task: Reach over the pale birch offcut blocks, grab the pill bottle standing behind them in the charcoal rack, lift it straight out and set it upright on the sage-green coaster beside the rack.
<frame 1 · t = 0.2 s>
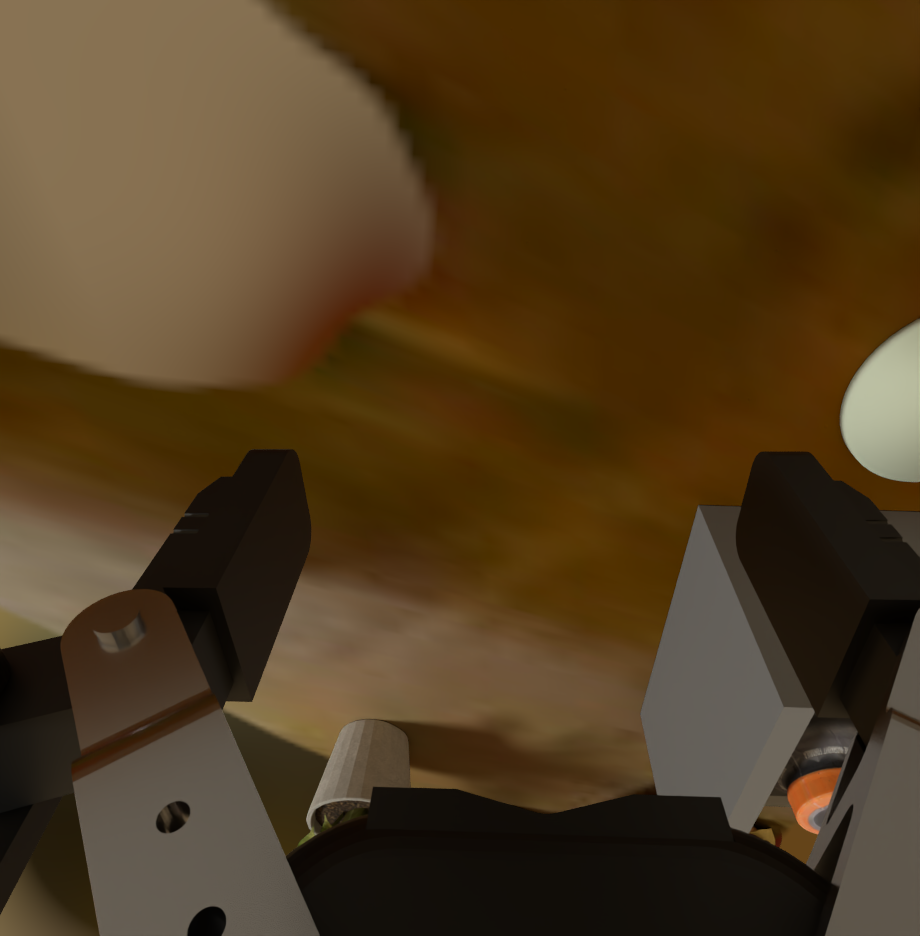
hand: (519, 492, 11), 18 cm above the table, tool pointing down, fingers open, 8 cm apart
house plant: (359, 729, 47), on the table
pill bottle: (759, 624, 38), on the table
rack: (811, 629, 38), on the table
hamburger: (694, 837, 55), on the table
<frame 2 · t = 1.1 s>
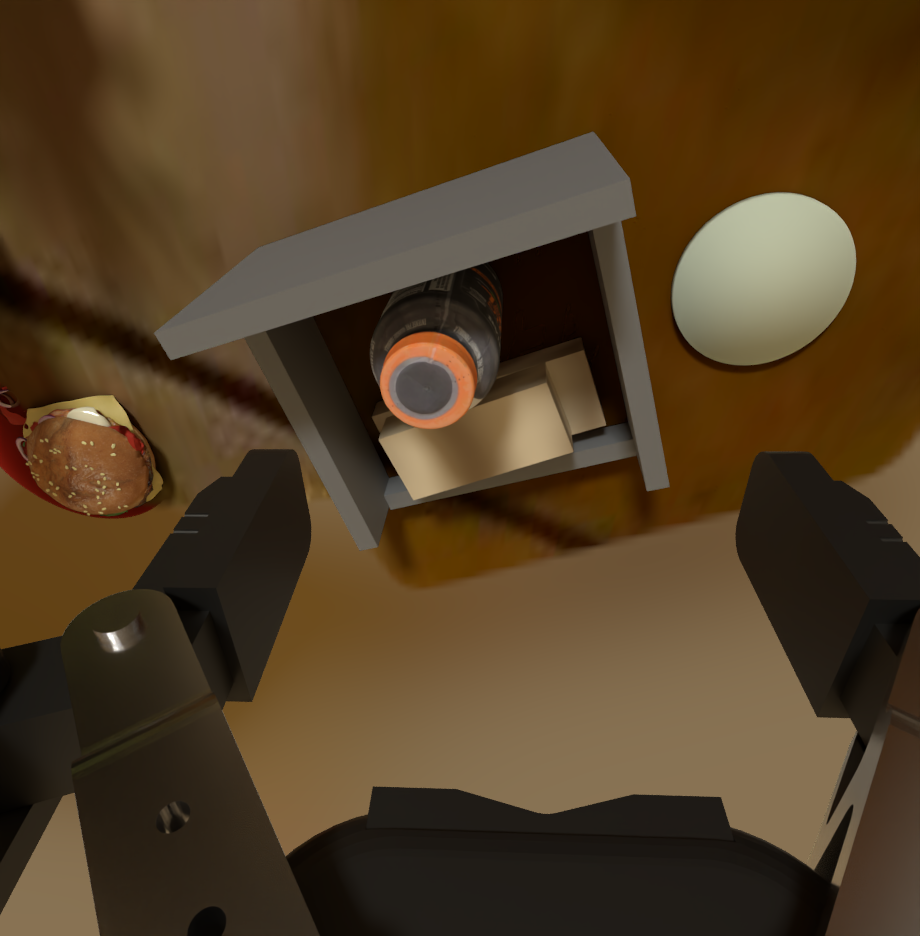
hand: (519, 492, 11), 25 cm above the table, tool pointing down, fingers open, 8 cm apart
offcut upper: (477, 423, 38), point 2 cm above the table, touching offcut lower
pill bottle: (450, 296, 36), on the table
rack: (466, 345, 37), on the table
hamburger: (79, 433, 44), on the table
coaster: (758, 282, 34), on the table
offcut lower: (489, 401, 40), on the table, touching offcut upper
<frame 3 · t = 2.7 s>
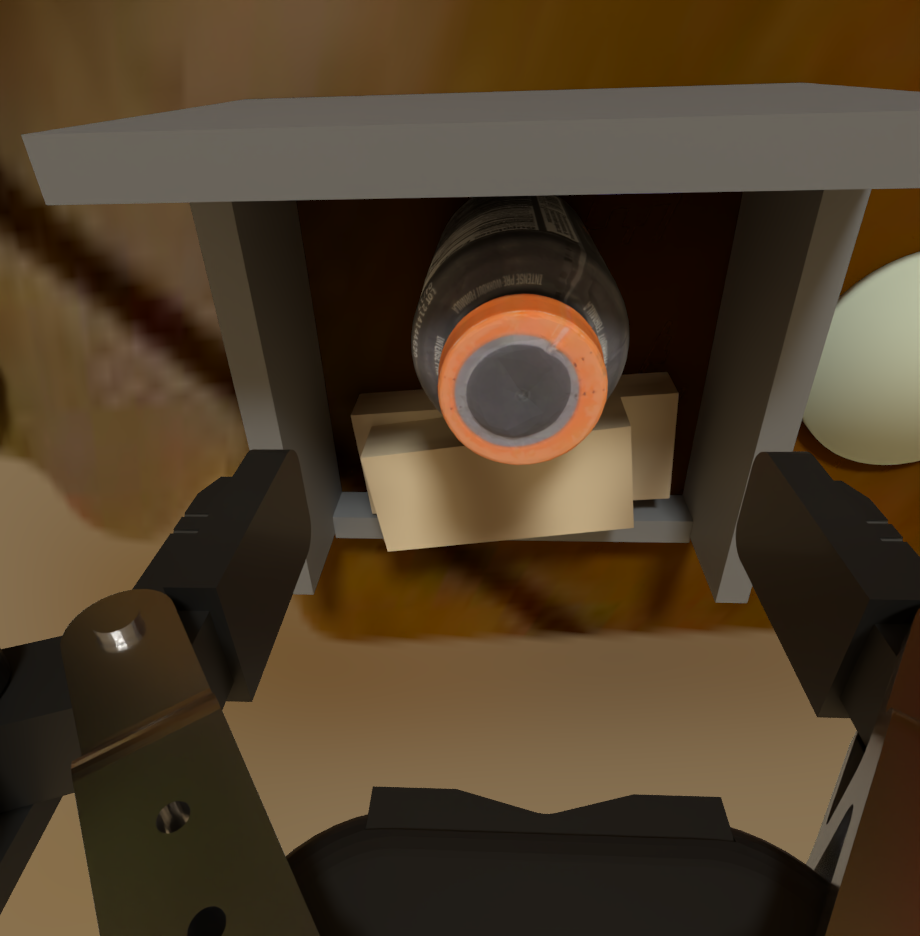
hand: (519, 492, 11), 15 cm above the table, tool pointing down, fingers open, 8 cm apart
offcut upper: (500, 459, 26), point 2 cm above the table, touching offcut lower
pill bottle: (513, 263, 24), on the table
rack: (512, 340, 26), on the table
coaster: (913, 361, 25), on the table
offcut lower: (513, 428, 29), on the table, touching offcut upper
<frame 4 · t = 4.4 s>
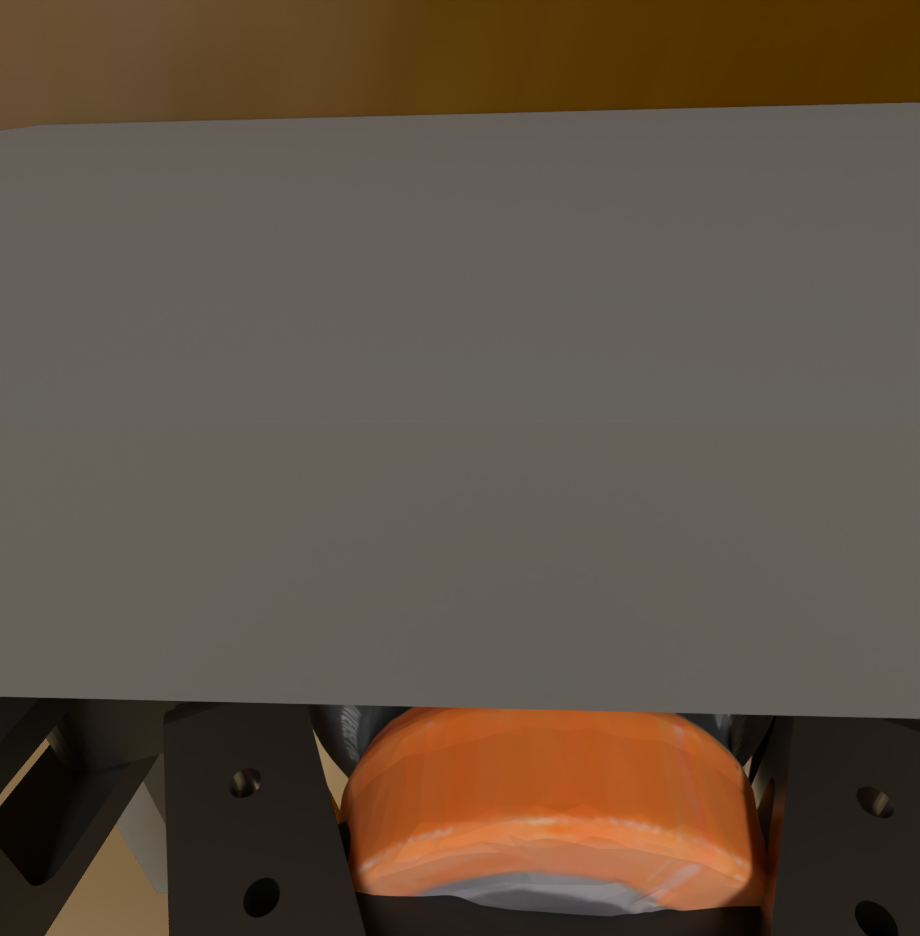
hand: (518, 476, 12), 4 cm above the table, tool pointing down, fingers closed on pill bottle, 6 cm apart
offcut upper: (514, 667, 17), point 2 cm above the table, touching offcut lower
pill bottle: (513, 387, 15), on the table, touching gripper
rack: (511, 495, 16), on the table
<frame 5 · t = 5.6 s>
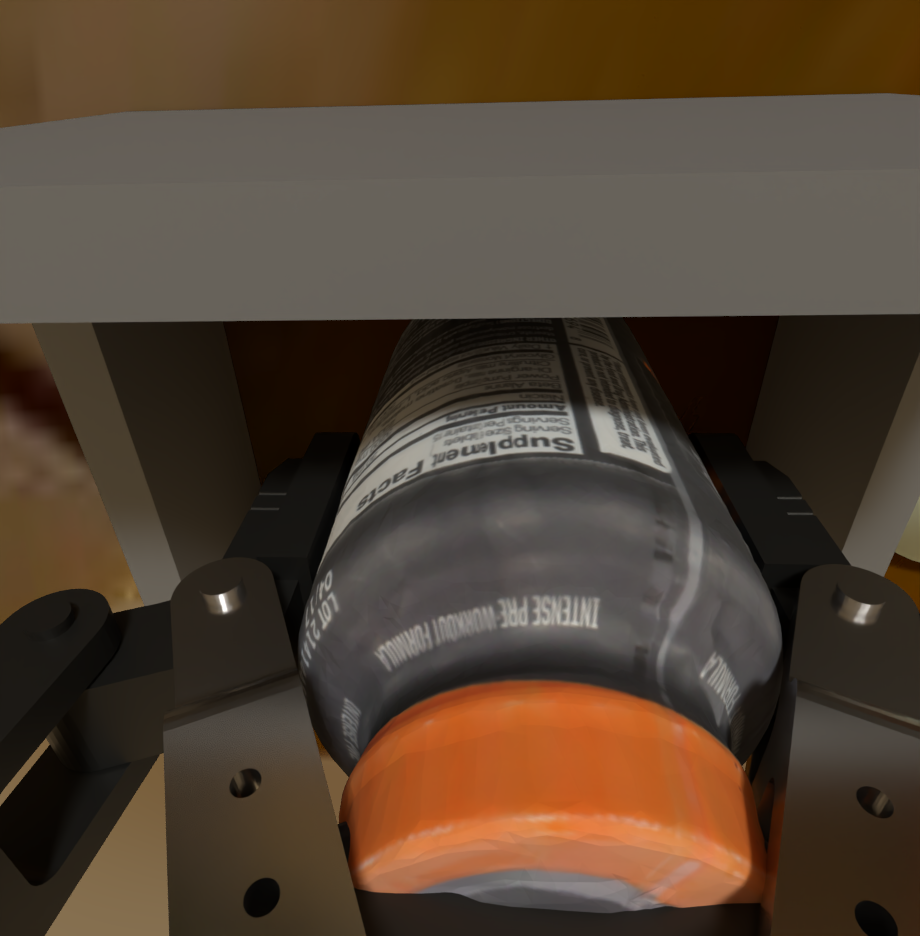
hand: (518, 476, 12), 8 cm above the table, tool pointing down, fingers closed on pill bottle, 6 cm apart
pill bottle: (513, 386, 15), point 4 cm above the table, touching gripper
rack: (495, 420, 20), on the table
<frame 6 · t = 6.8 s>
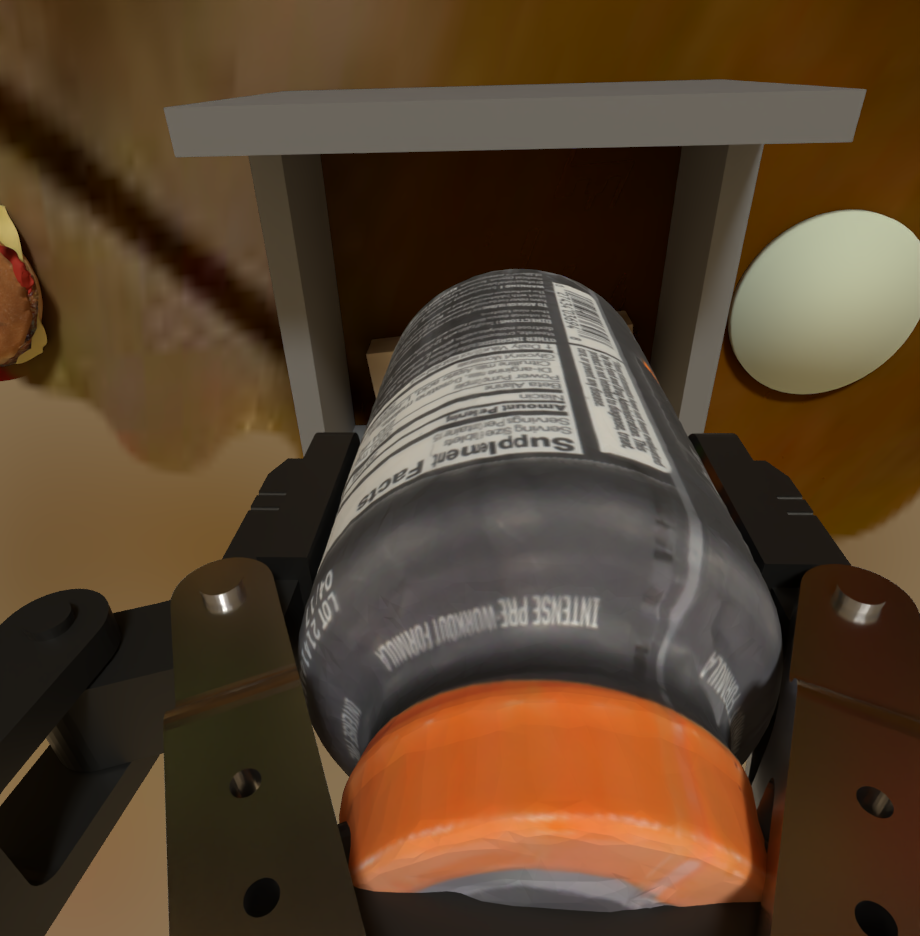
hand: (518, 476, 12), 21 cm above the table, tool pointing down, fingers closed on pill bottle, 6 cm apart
pill bottle: (513, 386, 15), point 17 cm above the table, touching gripper
rack: (497, 290, 31), on the table
coaster: (822, 306, 31), on the table
offcut lower: (500, 366, 34), on the table
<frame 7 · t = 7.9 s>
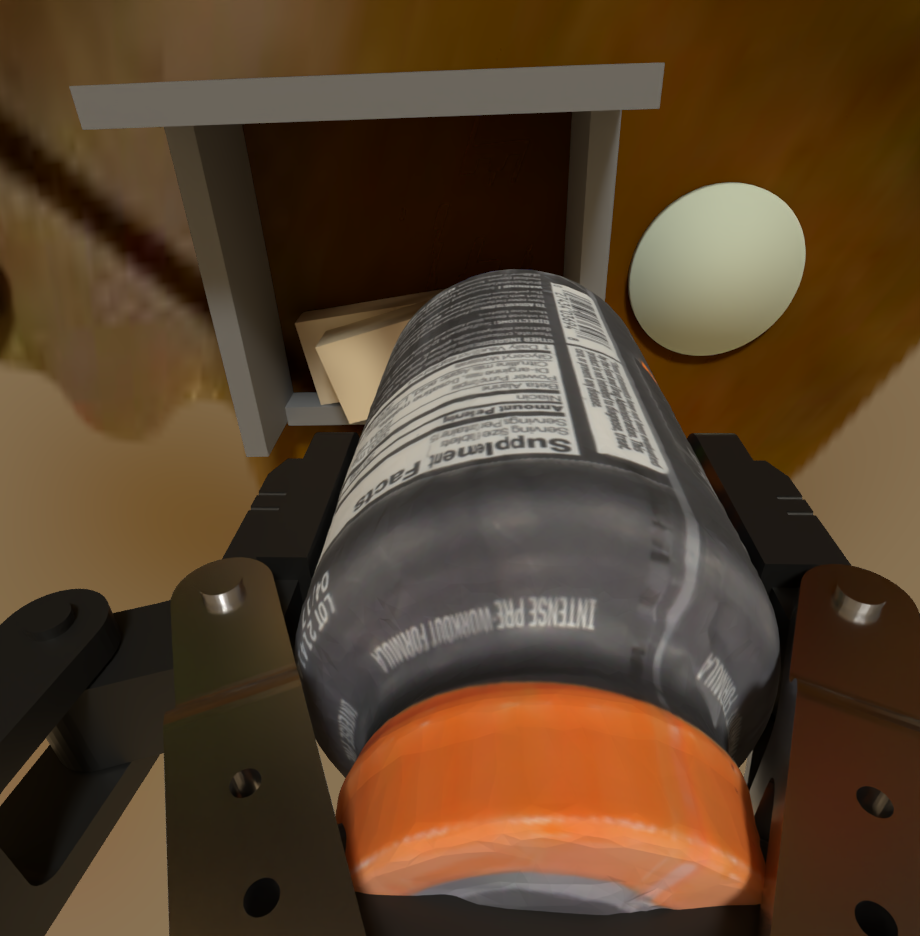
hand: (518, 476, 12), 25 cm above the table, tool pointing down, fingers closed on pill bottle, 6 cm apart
offcut upper: (425, 344, 35), point 2 cm above the table, touching offcut lower
pill bottle: (512, 387, 15), point 21 cm above the table, touching gripper
rack: (415, 262, 34), on the table
coaster: (712, 273, 34), on the table
offcut lower: (424, 332, 37), on the table, touching offcut upper
when the fingers open (5 cm above the table, at t = 12.0 s): pill bottle drops 1 cm, resting on coaster.
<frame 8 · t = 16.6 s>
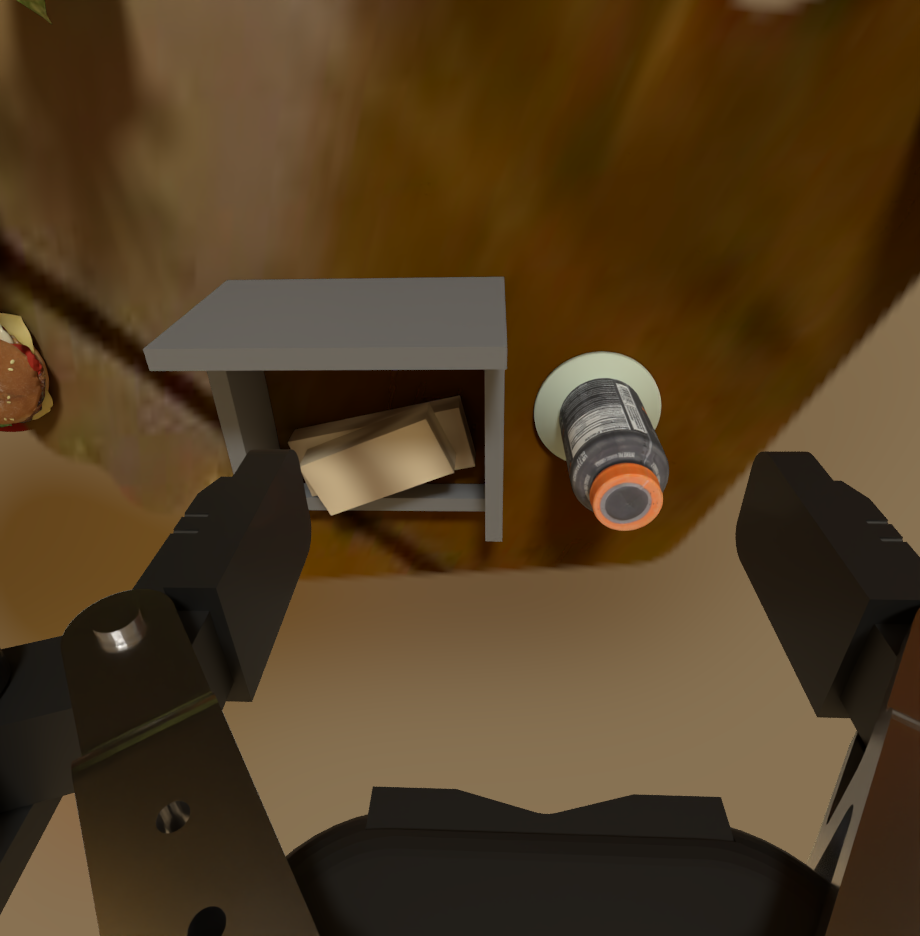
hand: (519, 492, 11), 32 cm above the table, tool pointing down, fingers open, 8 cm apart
offcut upper: (381, 451, 47), point 2 cm above the table, touching offcut lower
pill bottle: (599, 411, 46), resting on coaster
rack: (376, 397, 46), on the table
coaster: (595, 409, 46), on the table
offcut lower: (386, 437, 49), on the table, touching offcut upper
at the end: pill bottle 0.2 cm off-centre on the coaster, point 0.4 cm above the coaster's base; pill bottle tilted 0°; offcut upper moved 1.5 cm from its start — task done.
